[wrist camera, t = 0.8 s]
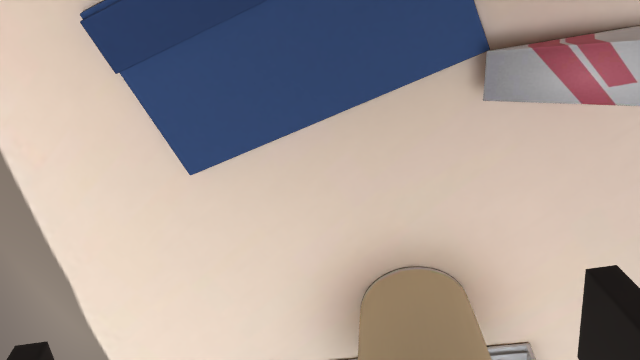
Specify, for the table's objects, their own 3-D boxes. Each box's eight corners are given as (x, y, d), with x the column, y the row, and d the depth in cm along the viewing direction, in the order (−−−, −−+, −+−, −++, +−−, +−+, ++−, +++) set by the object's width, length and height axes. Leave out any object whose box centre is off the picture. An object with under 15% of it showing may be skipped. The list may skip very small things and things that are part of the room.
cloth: (416, -166, 27) (419, -166, 26) (487, 46, 32) (492, 52, 31) (83, 11, 31) (75, 16, 30) (192, 171, 36) (188, 179, 36)
